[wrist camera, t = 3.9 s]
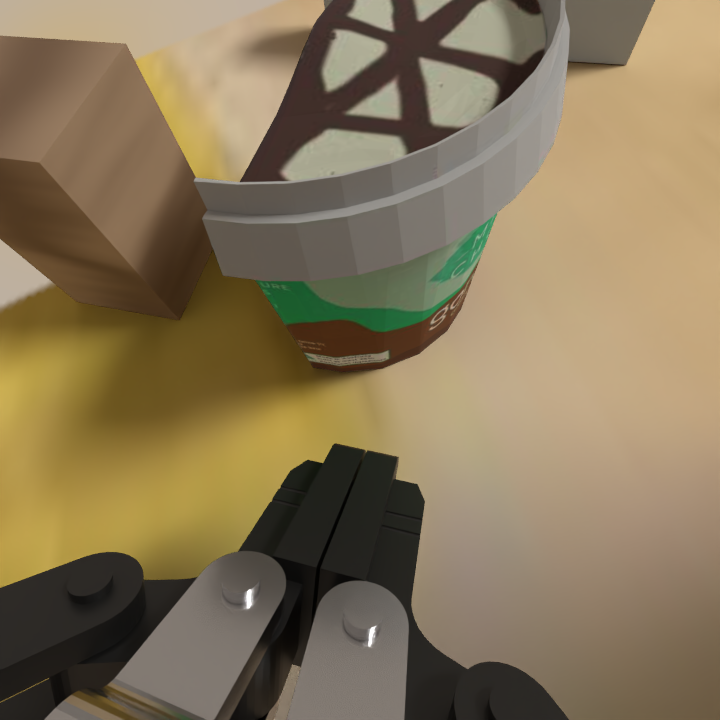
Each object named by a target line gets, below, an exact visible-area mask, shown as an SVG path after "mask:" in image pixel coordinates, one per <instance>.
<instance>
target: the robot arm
mask: <svg viewBox="0 0 720 720" xmlns="http://www.w3.org/2000/svg"><path fill="white" fill-rule="evenodd" d="M398 459H399V457H396V456H392V455H387V454H382V453H378V452H373V451H369V450H368V451H367V452H366V450H363V449H359V448H354V447H349V446H345V445H340V444H334V445H333V446H332V448H331V450H330V452H329V454H328V455H327V457H326V459H325V461H324V463H319V462H315V461H310V460H307V461H305V462H303V463H302V464H300V465H299V466H297V467H296V468H294V469H293V470H291V471H290V472H289V474H288V476H287V477H286V479H285V480H284V482H283V483H282V485H281V488H280V489H278V491H277V492H276V494H275V496H274V497H273V500H272V502H270V503H269V505H268V506H267V508H266V509H265V511H264V512H263V514H262V516H261V517H260V519H259V520H258V522H257V523H256V525H255V526H254V528H253V529H252V531H251V532H250V534H249V536H248V537H247V539H246V540H245V542H244V543H243V545H242V546H241V548H240V549H239V551H238V552H234V553H231V554H227V555H225V556H222V557H220V558H218V559H217V560H215V561H213V562H212V563H211V564H210V565H208V566H207V567H206V568H205V569H204V570H203V572H202V573H201V574H200V575H199V576H198V577H196V578H191V579H178V580H144V576H143V570H142V567H141V565H140V564H139V562H138V561H137V560H136V559H134V558H133V557H131V556H129V555H126V554H123V553H117V552H105V553H98V554H93V555H89V556H86V557H83V558H80V559H78V560H75V561H72V562H69V563H67V564H64V565H61V566H59V567H56V568H53V569H50V570H48V571H45V572H42V573H40V574H37V575H34V576H32V577H29V578H26V579H23V580H21V581H18V582H15V583H13V584H10V585H7V586H5V587H2V588H0V701H2V700H4V699H6V698H8V697H10V696H13V695H15V694H17V693H19V692H21V691H23V690H25V689H27V688H29V687H31V686H33V685H35V684H37V683H39V682H41V681H43V680H45V679H47V678H49V679H48V680H46V681H44V682H42V683H40V684H38V685H36V686H34V687H32V688H30V689H28V690H26V691H24V692H22V693H20V694H18V695H16V696H14V697H12V698H10V699H8V700H6V701H4V702H2V703H0V720H274V718H275V715H276V713H277V710H278V705H279V698H280V695H281V693H282V690H283V687H284V685H285V682H286V679H287V677H288V674H289V671H290V669H291V666H292V664H293V665H297V666H300V667H301V669H300V673H299V676H298V680H297V684H296V687H295V691H294V695H293V698H292V702H291V706H290V709H289V713H288V717H287V720H569V719H568V718H567V717H566V715H565V714H564V713H563V712H562V710H561V709H560V708H559V706H558V705H557V704H556V703H555V701H554V700H553V699H552V698H551V696H550V695H549V694H548V693H547V692H546V690H545V689H544V688H543V687H542V686H541V685H540V684H539V683H538V682H537V681H535V680H534V679H533V678H532V677H530V676H529V675H528V674H526V673H525V672H523V671H521V670H519V669H517V668H515V667H513V666H510V665H508V664H504V663H499V662H483V663H479V664H476V665H474V666H472V667H471V668H469V669H466V668H464V667H463V666H461V665H460V664H458V663H457V662H455V661H453V660H452V659H450V658H449V657H447V656H446V655H444V654H443V653H441V652H440V651H439V650H437V649H436V648H435V647H434V646H433V645H432V644H431V643H429V641H428V640H427V639H426V638H425V637H424V635H423V634H422V633H421V631H420V629H419V628H418V626H417V624H416V622H415V620H414V616H413V613H412V607H411V598H412V591H413V583H414V576H415V569H416V562H417V554H418V547H419V540H420V533H421V525H422V518H423V511H424V504H425V501H424V498H423V496H422V494H421V491H420V489H419V487H418V485H417V484H414V483H409V482H405V481H400V480H396V473H397V467H398Z"/></svg>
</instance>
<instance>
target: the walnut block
mask: <svg viewBox="0 0 720 720" xmlns="http://www.w3.org/2000/svg"><path fill="white" fill-rule="evenodd" d="M195 178H196V177H195V175H194V173H193V171H192V169H191V168H190V166H189V164H188V162H187V160H186V158H185V156H184V154H183V152H182V150H181V148H180V146H179V145H178V143H177V141H176V139H175V137H174V135H173V133H172V131H171V129H170V127H169V125H168V124H167V122H166V120H165V118H164V116H163V114H162V112H161V110H160V108H159V106H158V104H157V102H156V101H155V99H154V97H153V95H152V93H151V91H150V89H149V87H148V85H147V83H146V81H145V79H144V78H143V76H142V74H141V72H140V70H139V68H138V66H137V64H136V62H135V60H134V58H133V57H132V55H131V53H130V51H129V49H128V47H127V45H126V44H121V43H105V42H89V41H73V40H58V39H43V38H27V37H11V36H0V239H1V240H2V241H3V242H5V243H6V244H7V245H9V246H10V247H11V248H12V249H13V250H14V251H16V252H17V253H18V254H19V255H21V256H22V257H23V258H24V259H26V260H27V261H28V262H29V263H30V264H32V265H33V266H34V267H35V268H36V269H38V270H39V271H40V272H41V273H42V274H44V275H45V276H46V277H47V278H48V279H50V280H51V281H52V282H53V283H55V284H56V285H57V286H58V287H59V288H61V289H62V290H63V291H64V292H65V293H67V294H68V295H69V296H70V297H72V298H73V299H74V300H75V301H76V302H81V303H86V304H92V305H97V306H103V307H108V308H114V309H119V310H125V311H131V312H136V313H142V314H147V315H153V316H158V317H164V318H169V319H175V320H180V319H181V316H182V314H183V312H184V310H185V308H186V306H187V303H188V301H189V299H190V297H191V295H192V293H193V290H194V288H195V286H196V284H197V282H198V280H199V277H200V275H201V273H202V271H203V269H204V267H205V264H206V262H207V260H208V258H209V256H210V253H211V251H212V249H213V247H212V245H211V242H210V239H209V236H208V234H207V231H206V228H205V225H204V223H203V220H202V218H203V216H204V214H205V213H206V211H207V208H206V206H205V204H204V202H203V200H202V198H201V196H200V194H199V192H198V190H197V188H196V186H195V184H194V179H195Z"/></svg>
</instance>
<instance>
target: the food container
mask: <svg viewBox="0 0 720 720" xmlns="http://www.w3.org/2000/svg"><path fill="white" fill-rule="evenodd" d="M569 35H570V27H569V23H568V19H567V14H566V10H565V0H332V2H331V3H330V4H329V5H328V6H327V8H326V9H325V10H324V12H323V13H322V14H321V15H320V17H319V18H318V19H317V21H316V23H315V24H314V26H313V29H312V31H311V33H310V35H309V38H308V40H307V42H306V44H305V46H304V49H303V51H302V54H301V56H300V59H299V61H298V64H297V67H296V69H295V72H294V74H293V77H292V79H291V82H290V85H289V87H288V89H287V92H286V94H285V96H284V99H283V101H282V103H281V106H280V108H279V110H278V113H277V115H276V117H275V118H274V120H273V122H272V124H271V126H270V128H269V130H268V131H267V133H266V135H265V137H264V139H263V141H262V142H261V144H260V146H259V148H258V150H257V152H256V154H255V155H254V157H253V159H252V161H251V163H250V165H249V166H248V168H247V170H246V172H245V174H244V175H243V177H242V179H241V181H240V182H232V181H223V180H213V179H203V178H195V179H194V184H195V186H196V188H197V190H198V192H199V194H200V196H201V198H202V200H203V202H204V204H205V206H206V208H207V211H206V213H205V214H204V216H203V218H202V220H203V223H204V225H205V228H206V231H207V234H208V236H209V239H210V242H211V245H212V247H213V250H214V253H215V255H216V258H217V261H218V264H219V266H220V269H221V272H222V275H223V276H230V277H238V278H245V279H253V280H255V281H256V282H257V284H258V285H259V287H260V288H261V290H262V291H263V293H264V294H265V296H266V297H267V299H268V300H269V302H270V303H271V305H272V306H273V308H274V309H275V311H276V312H277V314H278V315H279V317H280V318H281V320H282V321H283V323H284V324H285V326H286V327H287V329H288V330H289V332H290V333H291V335H292V336H293V338H294V339H295V341H296V342H297V344H298V345H299V347H300V348H301V350H302V351H303V353H304V354H305V356H306V357H307V359H308V360H309V362H310V363H311V365H312V366H313V368H320V369H326V370H332V371H338V372H350V371H360V370H371V369H381V368H385V367H387V366H390V365H392V364H395V363H397V362H400V361H402V360H405V359H407V358H410V357H412V356H415V355H417V354H419V353H421V352H422V351H423V350H424V349H425V348H427V347H428V346H429V345H430V344H432V343H433V342H434V341H435V340H436V339H438V338H439V337H440V336H441V335H443V334H444V333H445V332H446V331H447V330H448V328H449V327H450V325H451V324H452V322H453V321H454V319H455V317H456V316H457V314H458V313H459V311H460V310H461V307H462V305H463V302H464V299H465V297H466V294H467V292H468V289H469V286H470V284H471V281H472V278H473V276H474V273H475V270H476V268H477V265H478V262H479V260H480V257H481V255H482V252H483V249H484V247H485V244H486V241H487V239H488V236H489V233H490V231H491V228H492V225H493V223H494V220H495V218H496V215H497V212H499V211H500V210H501V209H502V208H504V207H505V206H506V205H507V204H509V203H510V202H511V201H512V200H513V199H515V197H516V196H517V195H518V194H519V193H520V192H521V191H522V189H523V188H524V187H525V186H526V185H527V184H528V182H529V181H530V180H531V179H532V178H533V177H534V175H535V174H536V173H537V172H538V170H539V169H540V167H541V165H542V163H543V162H544V160H545V158H546V156H547V154H548V153H549V151H550V149H551V147H552V146H553V144H554V140H555V137H556V134H557V130H558V127H559V124H560V120H561V117H562V109H563V100H564V91H565V82H566V73H567V64H568V55H569Z"/></svg>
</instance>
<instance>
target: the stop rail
mask: <svg viewBox="0 0 720 720" xmlns="http://www.w3.org/2000/svg"><path fill="white" fill-rule="evenodd" d="M331 2H332V0H324V5H325V9H326V8H327V6H328V5H329V4H330V3H331ZM654 2H655V0H565V10H566V14H567V19H568V23H569V27H570V35H569V55H568V61H571V62H588V63H605V64H622V65H626V64H627V62H628V59H629V57H630V55H631V53H632V50H633V48H634V46H635V44H636V42H637V39H638V37H639V35H640V33H641V30H642V28H643V26H644V24H645V22H646V19H647V17H648V15H649V13H650V11H651V8H652V6H653V4H654Z"/></svg>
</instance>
